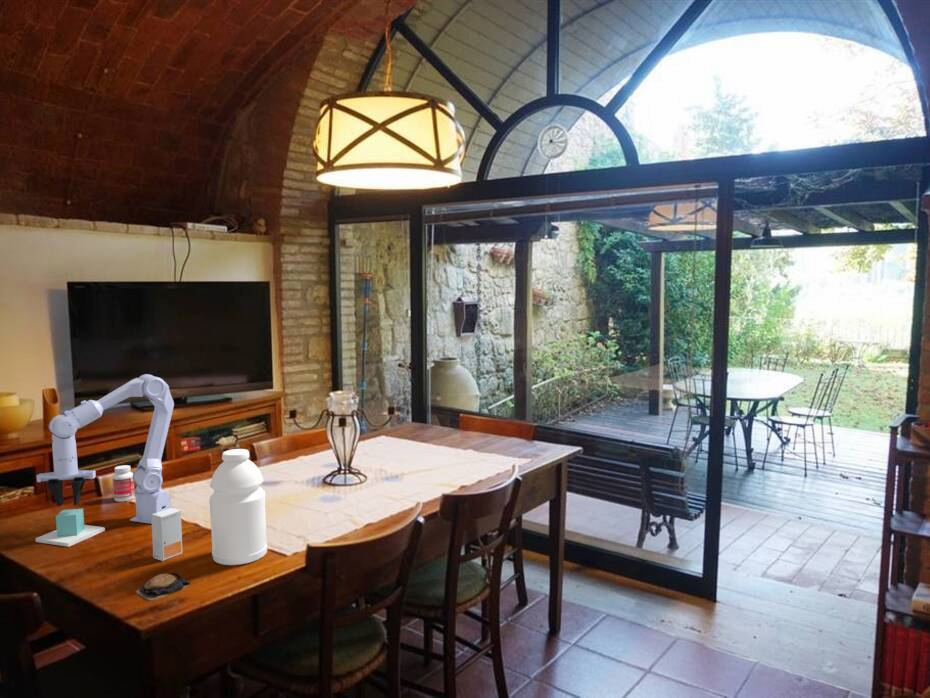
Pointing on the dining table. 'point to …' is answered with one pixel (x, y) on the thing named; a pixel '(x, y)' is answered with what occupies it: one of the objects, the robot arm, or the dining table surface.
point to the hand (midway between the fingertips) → (68, 504)
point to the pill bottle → (123, 484)
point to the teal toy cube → (70, 522)
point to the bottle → (237, 510)
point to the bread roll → (162, 586)
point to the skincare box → (166, 534)
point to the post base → (70, 540)
